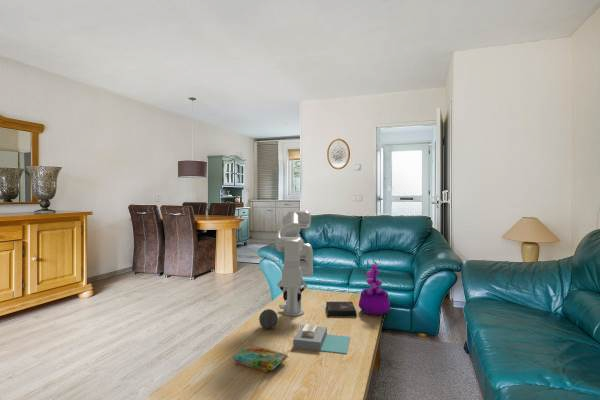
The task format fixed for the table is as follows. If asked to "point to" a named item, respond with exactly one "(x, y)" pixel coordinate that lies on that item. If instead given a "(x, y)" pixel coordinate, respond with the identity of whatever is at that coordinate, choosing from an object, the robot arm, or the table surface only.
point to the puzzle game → (259, 358)
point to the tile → (309, 330)
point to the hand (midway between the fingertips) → (292, 300)
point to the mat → (336, 344)
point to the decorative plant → (374, 295)
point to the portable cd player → (341, 309)
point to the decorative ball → (268, 319)
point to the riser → (310, 339)
